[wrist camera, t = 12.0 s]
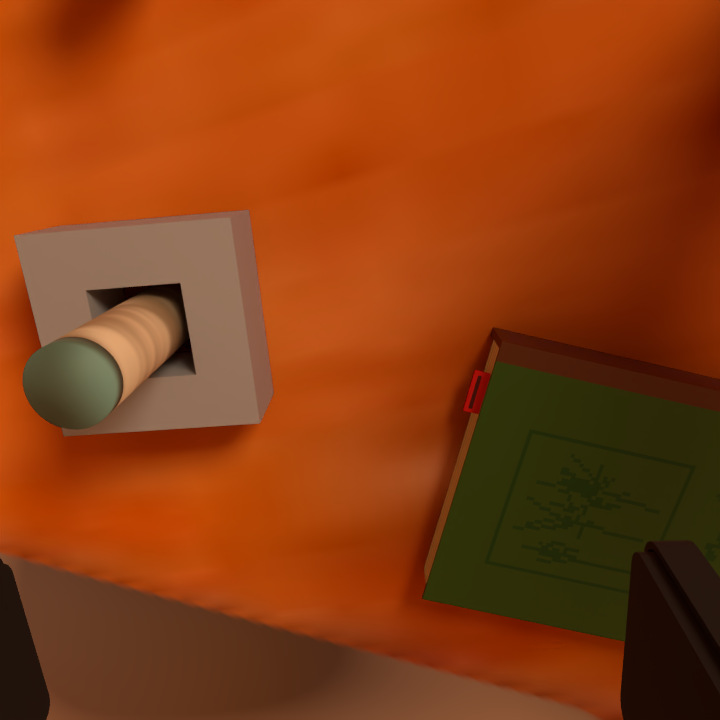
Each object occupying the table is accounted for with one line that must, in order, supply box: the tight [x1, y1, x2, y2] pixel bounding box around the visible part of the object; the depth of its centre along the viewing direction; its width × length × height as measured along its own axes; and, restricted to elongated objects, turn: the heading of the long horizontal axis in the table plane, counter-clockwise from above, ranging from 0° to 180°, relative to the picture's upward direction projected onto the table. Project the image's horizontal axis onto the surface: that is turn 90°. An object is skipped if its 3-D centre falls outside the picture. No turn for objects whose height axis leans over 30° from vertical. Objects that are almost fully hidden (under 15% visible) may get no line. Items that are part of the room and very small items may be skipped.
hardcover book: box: [422, 327, 720, 641], centre depth 42 cm, size 25×19×4 cm
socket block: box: [14, 210, 274, 436], centre depth 38 cm, size 12×12×5 cm
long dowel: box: [23, 283, 190, 430], centre depth 34 cm, size 4×4×14 cm
